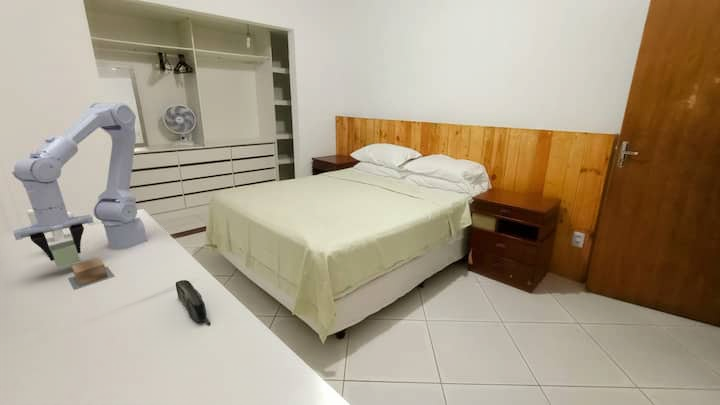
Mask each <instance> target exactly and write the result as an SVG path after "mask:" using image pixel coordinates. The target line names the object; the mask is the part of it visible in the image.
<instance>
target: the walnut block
mask: <svg viewBox="0 0 720 405" xmlns="http://www.w3.org/2000/svg"><path fill="white" fill-rule="evenodd" d="M105 267H106V265H105V263H104V262H103V261H102V259H101V258H100V257H95V258H92V259H90V260H87V261H82V262H79V263H76V264H75V263H74V264H73V265H71V268H72V271H73V276H75V278H76V280H77V282H78V284H79V286H81V285H84V284H87V283H90V282H93V281H96V280H99V279H102V278H105V277H108V276H107V272H106V269H105Z"/></svg>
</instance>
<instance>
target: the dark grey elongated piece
mask: <svg viewBox="0 0 720 405" xmlns="http://www.w3.org/2000/svg"><path fill="white" fill-rule="evenodd" d="M175 288H176V292H177V298H178V300H179V301H180V302H181V303H182V305H183V306H184V307H185V309H186V310H187V313H188V315H189V317H190V318H191V320H193V321H195V322H196V323H200V322H204V323H206V325H208V326H209V325H211V324H212V323H211V321H210V320H209V319H208V317H207V309H206V304H205V301H204V300H203V296H202V295H201V293H200V292H199V291H198V290H197V289H196V288H195V287H194V285H193V284H192V283H191V281H188V280H187V279H183V280H178V281H176V282H175Z"/></svg>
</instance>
